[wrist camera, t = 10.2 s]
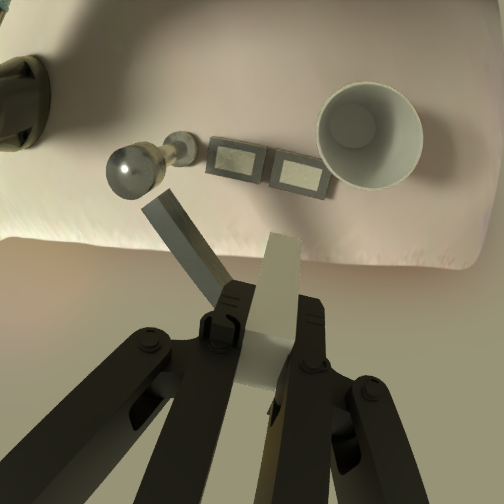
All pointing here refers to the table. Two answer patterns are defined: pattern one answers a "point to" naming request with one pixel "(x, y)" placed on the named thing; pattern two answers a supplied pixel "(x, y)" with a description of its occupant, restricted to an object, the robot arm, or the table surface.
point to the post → (179, 149)
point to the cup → (369, 136)
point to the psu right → (300, 174)
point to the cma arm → (166, 215)
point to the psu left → (236, 159)
